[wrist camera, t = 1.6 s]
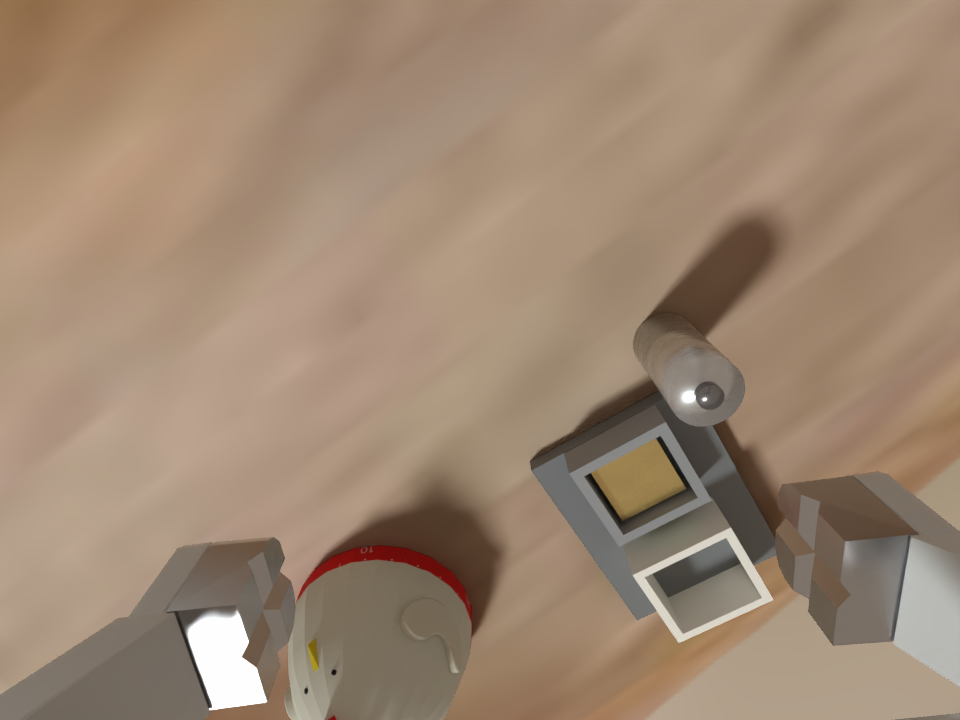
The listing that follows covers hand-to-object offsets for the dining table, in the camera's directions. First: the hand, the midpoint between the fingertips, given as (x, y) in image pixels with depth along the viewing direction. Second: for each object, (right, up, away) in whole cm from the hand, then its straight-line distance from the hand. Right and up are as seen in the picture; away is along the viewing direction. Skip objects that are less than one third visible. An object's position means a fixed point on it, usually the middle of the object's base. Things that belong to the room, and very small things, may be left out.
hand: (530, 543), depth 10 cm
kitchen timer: (-8, -17, +39) cm, 43 cm away
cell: (+11, +4, +30) cm, 32 cm away
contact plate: (+10, -5, +31) cm, 33 cm away
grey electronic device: (+12, -7, +34) cm, 37 cm away
